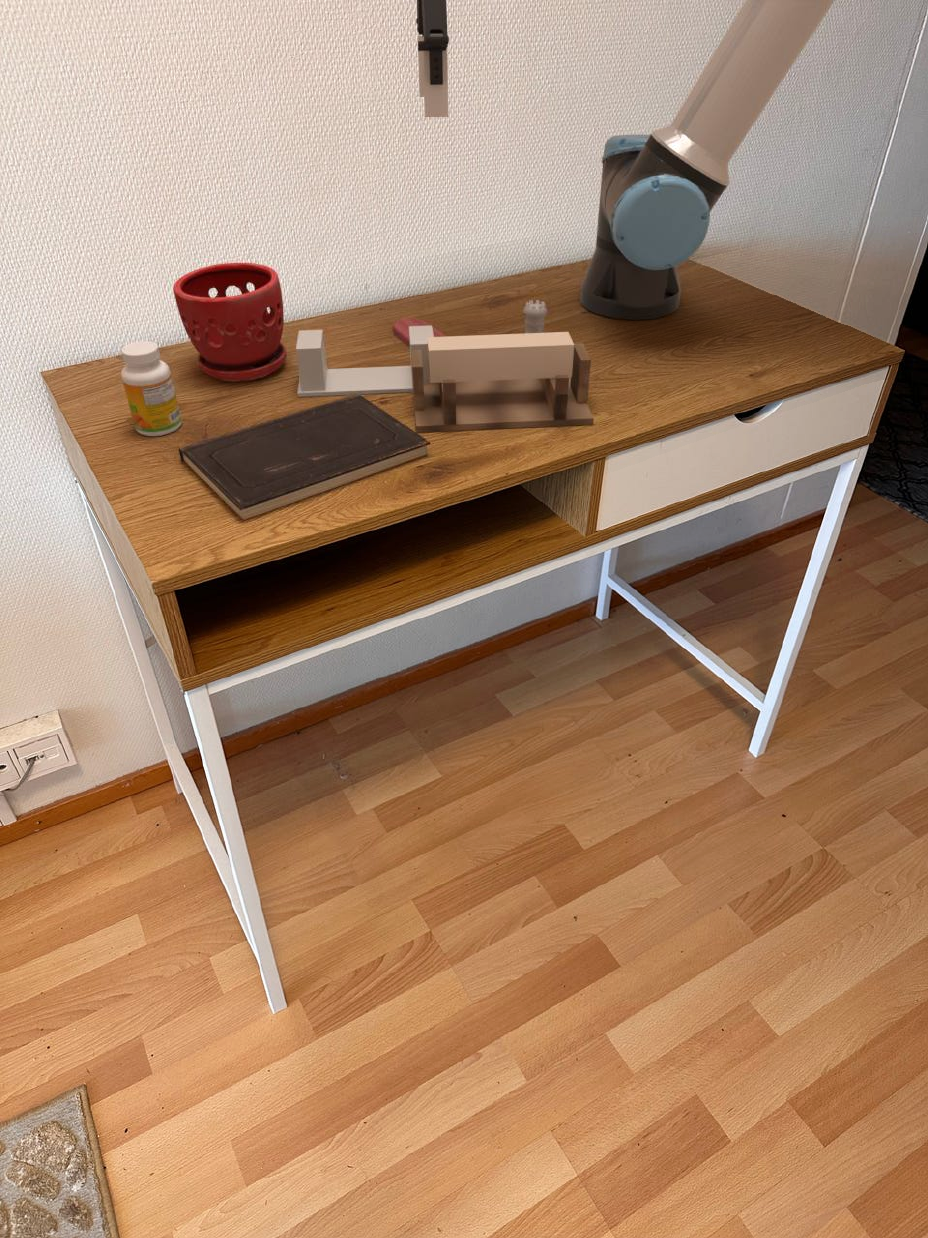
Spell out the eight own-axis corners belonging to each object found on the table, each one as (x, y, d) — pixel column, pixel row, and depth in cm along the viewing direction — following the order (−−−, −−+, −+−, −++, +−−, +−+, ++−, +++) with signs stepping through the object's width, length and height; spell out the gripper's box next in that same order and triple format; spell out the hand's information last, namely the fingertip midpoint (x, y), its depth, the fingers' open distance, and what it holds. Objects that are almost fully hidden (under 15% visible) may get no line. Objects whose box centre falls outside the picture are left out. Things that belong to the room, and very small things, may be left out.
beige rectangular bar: (566, 363, 108) (568, 331, 106) (571, 377, 105) (574, 344, 102) (428, 369, 107) (427, 337, 105) (430, 383, 104) (429, 350, 101)
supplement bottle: (130, 422, 105) (109, 344, 99) (175, 412, 107) (157, 335, 101) (141, 441, 102) (120, 361, 96) (187, 430, 104) (169, 351, 98)
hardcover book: (430, 459, 99) (430, 441, 98) (243, 527, 89) (239, 507, 87) (357, 408, 109) (356, 391, 108) (181, 464, 99) (177, 445, 97)
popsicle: (431, 357, 117) (386, 321, 127) (432, 368, 118) (386, 331, 128) (467, 349, 119) (419, 314, 129) (467, 361, 120) (419, 325, 130)
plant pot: (215, 346, 123) (198, 258, 116) (304, 352, 121) (293, 263, 114) (174, 385, 113) (153, 292, 106) (271, 393, 111) (256, 298, 104)
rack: (573, 378, 114) (577, 330, 110) (593, 424, 104) (597, 373, 100) (412, 385, 113) (409, 337, 109) (416, 432, 103) (414, 381, 99)
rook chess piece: (524, 353, 120) (527, 295, 115) (554, 359, 119) (558, 300, 114) (510, 365, 117) (512, 306, 112) (541, 372, 116) (544, 311, 111)
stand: (436, 368, 117) (435, 323, 113) (440, 390, 112) (439, 344, 108) (301, 373, 116) (295, 329, 112) (297, 396, 110) (291, 350, 107)
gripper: (390, -119, 104) (399, 89, 117) (395, -123, 84) (406, 126, 98) (453, -119, 104) (455, 88, 117) (473, -124, 85) (473, 125, 98)
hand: (433, 106), depth 108 cm, fingers open, 13 cm apart
